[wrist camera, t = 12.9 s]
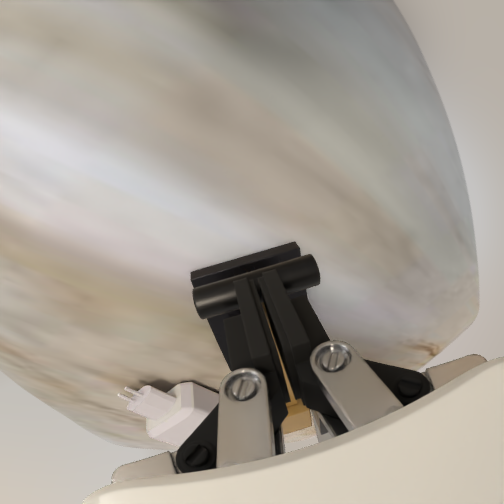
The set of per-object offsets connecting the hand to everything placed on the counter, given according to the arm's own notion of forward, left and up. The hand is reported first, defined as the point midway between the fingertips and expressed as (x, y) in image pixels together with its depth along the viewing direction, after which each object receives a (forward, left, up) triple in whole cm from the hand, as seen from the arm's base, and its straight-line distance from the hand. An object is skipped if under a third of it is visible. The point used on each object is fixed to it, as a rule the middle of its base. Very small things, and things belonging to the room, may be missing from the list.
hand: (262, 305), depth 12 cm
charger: (+24, -4, -12) cm, 27 cm away
